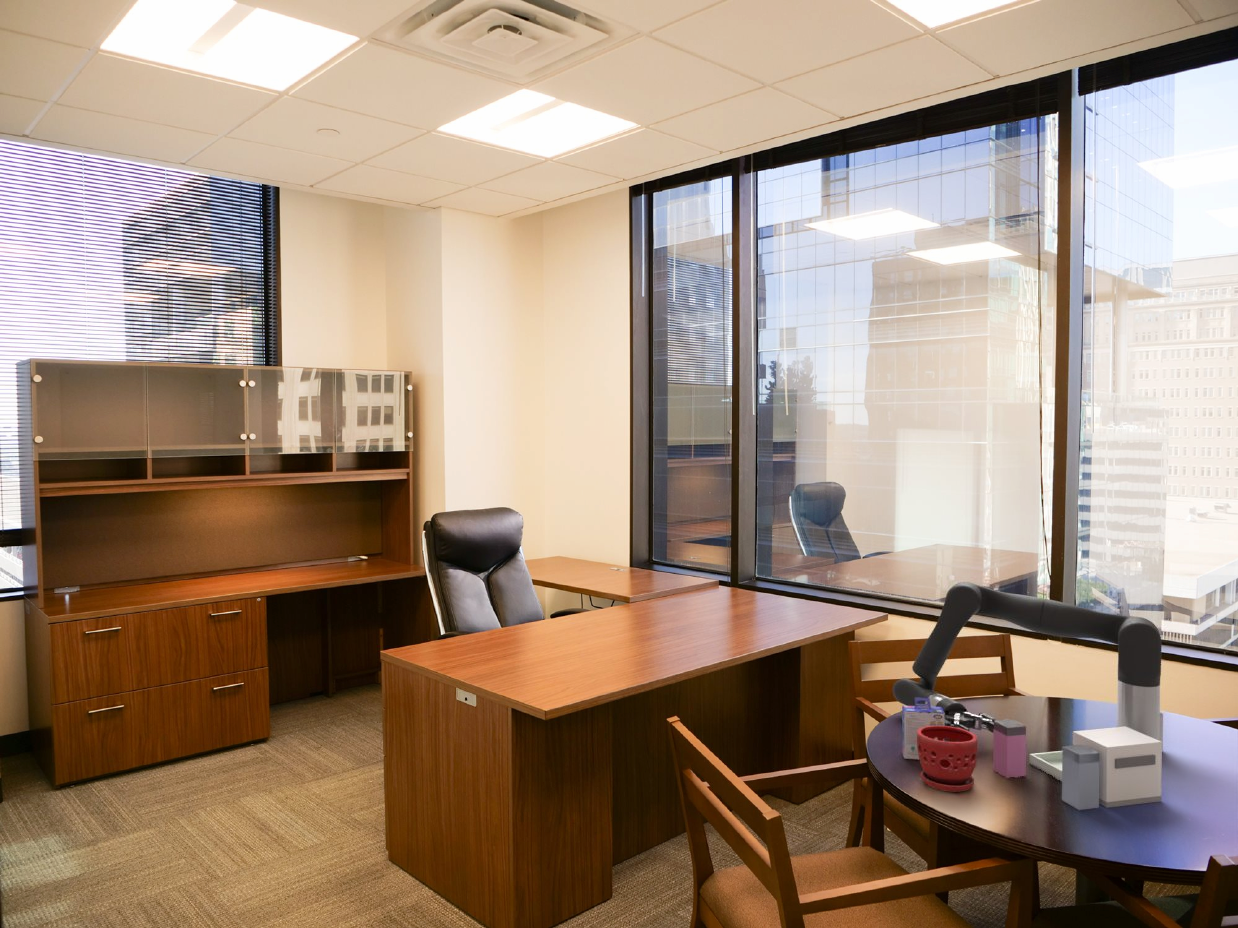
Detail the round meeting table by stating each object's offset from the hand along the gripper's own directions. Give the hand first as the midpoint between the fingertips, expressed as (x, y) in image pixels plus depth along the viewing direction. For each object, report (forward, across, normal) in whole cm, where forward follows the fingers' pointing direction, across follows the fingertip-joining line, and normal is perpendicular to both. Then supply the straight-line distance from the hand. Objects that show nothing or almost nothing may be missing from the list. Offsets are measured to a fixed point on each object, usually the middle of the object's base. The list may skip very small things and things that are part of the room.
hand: (983, 732), depth 209 cm
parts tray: (+12, +14, +6) cm, 19 cm away
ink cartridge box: (-4, -14, +7) cm, 16 cm away
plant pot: (+12, -18, +7) cm, 22 cm away
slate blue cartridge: (+28, +4, +6) cm, 29 cm away
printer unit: (+26, +15, +6) cm, 30 cm away
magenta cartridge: (+10, 0, +6) cm, 12 cm away
